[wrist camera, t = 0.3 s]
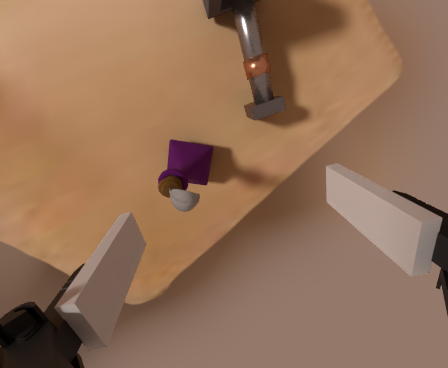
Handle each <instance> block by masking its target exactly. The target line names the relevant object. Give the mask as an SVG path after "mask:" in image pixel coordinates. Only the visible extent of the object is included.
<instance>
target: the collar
mask: <svg viewBox="0 0 448 368" xmlns="http://www.w3.org/2000/svg"><path fill="white" fill-rule="evenodd" d="M256 1H259V0H254V2H256ZM203 3H204V6H205V10H206V13H207V17H208V19H210V18H213V17H215V16H218V15H221V14H223V13H226V12H229V11H231V10H232V8H231V4H230V0H203Z"/></svg>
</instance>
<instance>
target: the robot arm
mask: <svg viewBox="0 0 448 368" xmlns="http://www.w3.org/2000/svg"><path fill="white" fill-rule="evenodd" d="M326 187H327V188H326V189H327V203H328V204H329V205H331V206H332V207H333V208H334V209H335V210H336V211H337V212H339V213H340V214H341V215H342V216H343V217H344V218H346V220H348V221H349V222H350V223H351V224H352V225H353V226H354V227H356V228H357V229H358V230H359V231H360V232H361V233H363V235H365V236H366V237H367V238H368V239H369V240H371V242H373V243H374V244H375V245H376V246H377V247H378V248H379V249H381V250H382V251H383V252H384V253H385V254H386V255H388V257H390V258H391V259H392V260H393V261H394V262H395V263H396V264H398V265H399V266H400V267H401V268H402V269H403V270H404V271H405V272H407V273H408V274H409V275H410V276H416V275H420V274H425V273H429V272H430V268H431V264H432V261H433V262H434V263H435V264H437V265H438V266H439V267H441V270H440V274H439V278H438V282H437V286H436V288H438V289H440V286H441V285H442V290H443V294H444V300H445V305H446V310H447V315H448V214H447V213H445V212H443V211H441V210H439V209H436V208H435V207H432V206H431V205H429V204H426V203H425V202H422V201H421V200H417V199H416V198H414V197H412V196H410V195H408V194H405V193H402V192H398V191H390V190H388V189H386V188H384V187H382V186H380V185H378V184H376V183H374V182H373V181H371V180H369V179H367V178H365V177H363V176H361V175H359V174H357V173H355V172H353V171H351V170H349V169H347V168H346V167H344V166H341V165H340V164H338V163H337V164H333V165H328V166H326ZM145 246H146V242H145V240H144V238H143V236H142V234H141V232H140V229H139V227H138V225H137V223H136V221H135V219H134V216H133V214H132V212H128V213H124V214H120V215H119V217H118V218H117V219H116V221H115V222H114V224H113V225H112V226H111V228H110V229H109V231H108V232H107V234H106V235H105V236H104V238H103V239H102V241H101V242H100V243H99V245H98V246H97V248H96V249H95V251H94V252H93V253H92V255H91V256H90V258H89V259H88V260H87V262H86V263H85V264H82V265H81V266H80V267H79V268H78V269H77V270H76V271H75V272H74V273H73V274H72V275H71V277H70V278H69V279H68V281H67V283H65V285H64V286H63V287H62V290H60V292H59V293H58V294H57V296H56V297H55V298H54V300H53V301H52V302H51V304H50V305H49V306H48V308H47V309H46V311H45V312H44V313H43V312H42V311H41V309H40V308H39V307H38V306H37V305H36V304H35V302H27V303H24V304H22V305H20V306H18V307H16V308H14V309H12V310H11V311H10V312H8V313H7V314H5V315H4V316H3V317H2V318H1V319H0V346H1V347H0V368H84V365H83V362H82V358H81V356H80V355H79V354H78V353H77V352H78V350H79V348H80V346H81V344H82V343H83V344H84V345H85V346H86V348H87V349H88V350H89V351H90V350H94V349H99V348H103V347H106V346H107V344H108V341H109V339H110V336H111V334H112V331H113V329H114V326H115V324H116V321H117V318H118V316H119V313H120V311H121V308H122V305H123V303H124V300H125V298H126V295H127V293H128V290H129V288H130V285H131V282H132V280H133V277H134V275H135V272H136V270H137V267H138V264H139V262H140V259H141V257H142V254H143V252H144V249H145Z"/></svg>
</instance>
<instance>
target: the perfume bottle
mask: <svg viewBox="0 0 448 368" xmlns="http://www.w3.org/2000/svg"><path fill="white" fill-rule="evenodd" d="M212 152H213V146H208V145H202V144H196V143H190V142H183V141H177V140H170V144H169V156H168V167H167V170H165V171H164V172H162V173H161V175H160V177H159V179H158V183H159V185H158V189H159V192H160V193H161V194H162V195H163V196H166V197H171V203H172V204H173V205H174V207H175V208H176V209H178V210H179V211H183V212H186V211H190V210H191V209H193V208H194V207H195V206H196V204H197V203H198V202H199V199H200V196H199V194H197V193H193V192H189V191H186V189H187V187H188V183H192V184H200V185H207V182H208V176H209V170H210V164H211V158H212Z"/></svg>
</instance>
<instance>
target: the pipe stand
mask: <svg viewBox="0 0 448 368" xmlns="http://www.w3.org/2000/svg"><path fill="white" fill-rule="evenodd" d="M230 4H231V8H232V12H233V16H234V20H235V24H236V28H237V32H238V36H239V41H240V45H241V49H242V53H243V57H244V62H243V64H244V68H245V72H246V76H247V80H248V79H249V81H250V85H251V90H252V94H253V98H254V102H253V103H250V104H247V105H244V108H245V111H246V115H247V117H248V118H251V119H253V120H257V119H260V118H263V117H266V116H269V115H272V114H275V113H278V112H281V111H284V110H286V109H285V103H284V98H283V96H274V95H273V90H272V86H271V81H270V76H269V72H270V67H269V62H268V57H267V53H265V52H264V47H263V42H262V38H261V33H260V28H259V23H258V18H257V13H256V9H255V4H254V0H230Z"/></svg>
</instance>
